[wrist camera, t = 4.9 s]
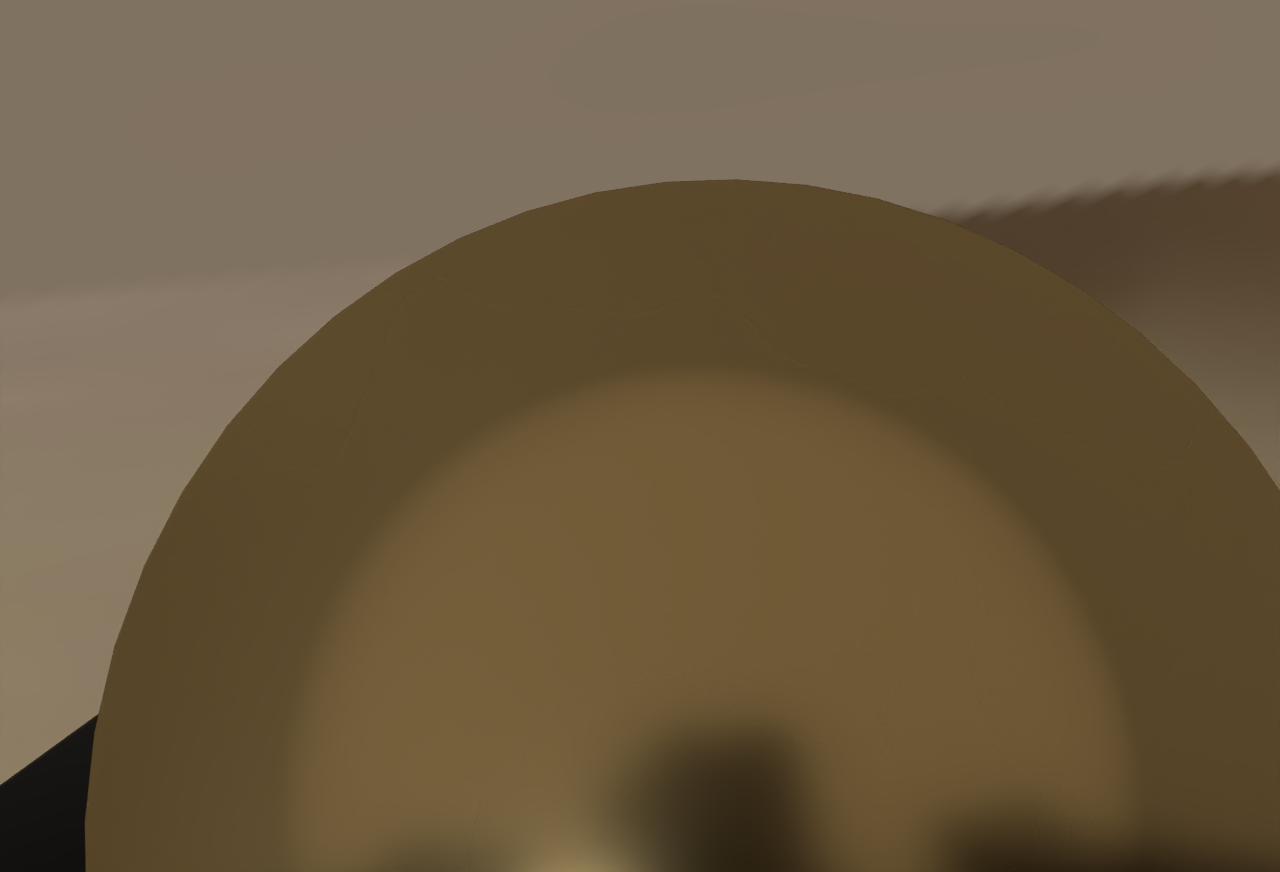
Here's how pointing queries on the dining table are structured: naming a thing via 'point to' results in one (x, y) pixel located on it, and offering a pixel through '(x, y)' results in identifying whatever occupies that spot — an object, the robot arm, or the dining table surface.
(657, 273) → the tan cylinder
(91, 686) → the dining table surface
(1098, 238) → the dining table surface
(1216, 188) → the dining table surface
